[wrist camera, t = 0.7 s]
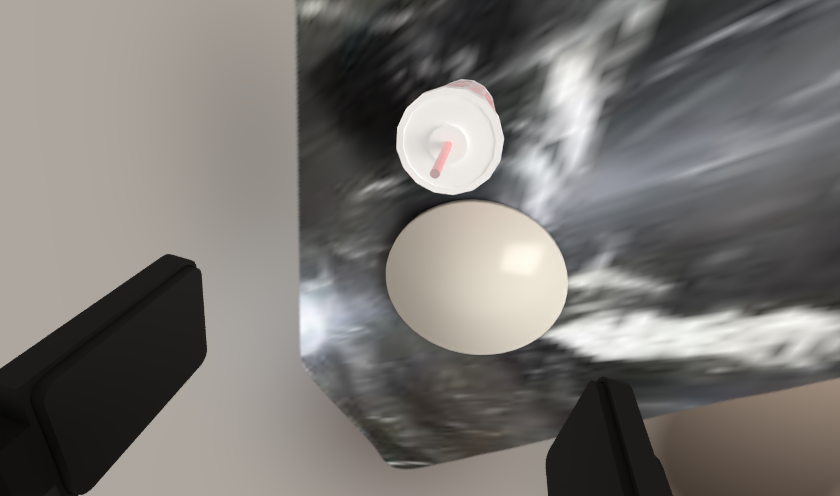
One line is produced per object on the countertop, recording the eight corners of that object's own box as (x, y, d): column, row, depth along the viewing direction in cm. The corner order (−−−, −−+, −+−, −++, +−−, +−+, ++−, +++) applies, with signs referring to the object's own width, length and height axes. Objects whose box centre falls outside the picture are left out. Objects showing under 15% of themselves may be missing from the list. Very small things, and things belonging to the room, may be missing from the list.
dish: (408, 174, 35) (405, 179, 34) (598, 229, 34) (600, 236, 33) (375, 318, 43) (372, 326, 42) (527, 365, 42) (528, 374, 41)
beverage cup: (523, 106, 31) (531, 167, 19) (467, 167, 34) (443, 255, 22) (458, 48, 29) (423, 73, 17) (407, 116, 32) (347, 179, 20)
